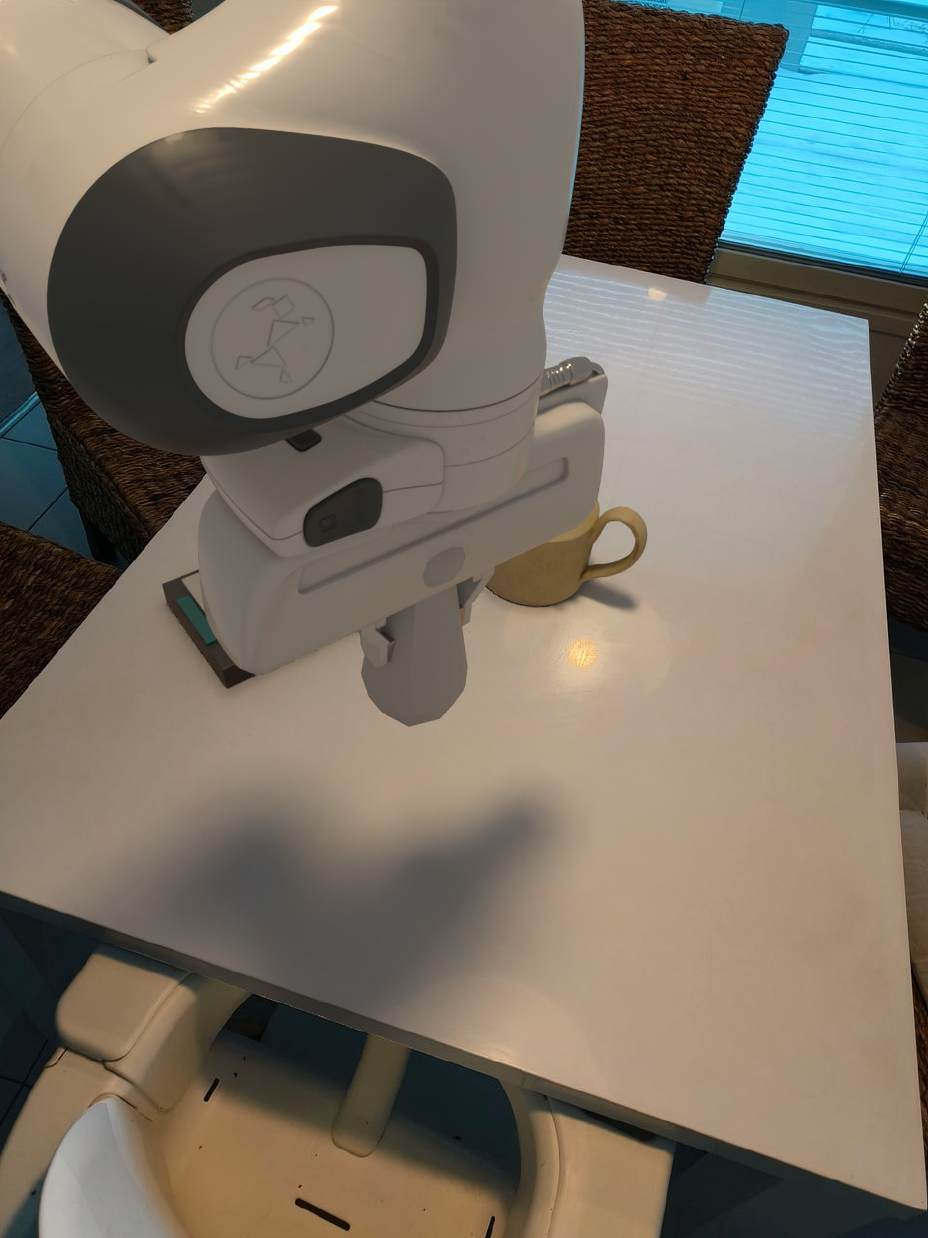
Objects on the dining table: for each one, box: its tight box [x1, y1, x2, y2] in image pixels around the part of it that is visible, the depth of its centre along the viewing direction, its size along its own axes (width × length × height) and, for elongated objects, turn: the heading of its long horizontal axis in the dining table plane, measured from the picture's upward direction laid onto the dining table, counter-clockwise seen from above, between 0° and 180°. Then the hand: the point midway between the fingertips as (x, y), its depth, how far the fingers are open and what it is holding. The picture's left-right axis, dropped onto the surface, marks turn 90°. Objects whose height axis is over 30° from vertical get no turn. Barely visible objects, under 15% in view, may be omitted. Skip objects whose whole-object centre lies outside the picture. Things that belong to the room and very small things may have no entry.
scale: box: [161, 568, 256, 689], centre depth 77 cm, size 14×12×3 cm
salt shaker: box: [360, 547, 469, 728], centre depth 43 cm, size 6×6×13 cm
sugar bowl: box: [485, 499, 648, 607], centre depth 79 cm, size 15×11×15 cm
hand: (415, 637), depth 44 cm, fingers closed on salt shaker, 3 cm apart
